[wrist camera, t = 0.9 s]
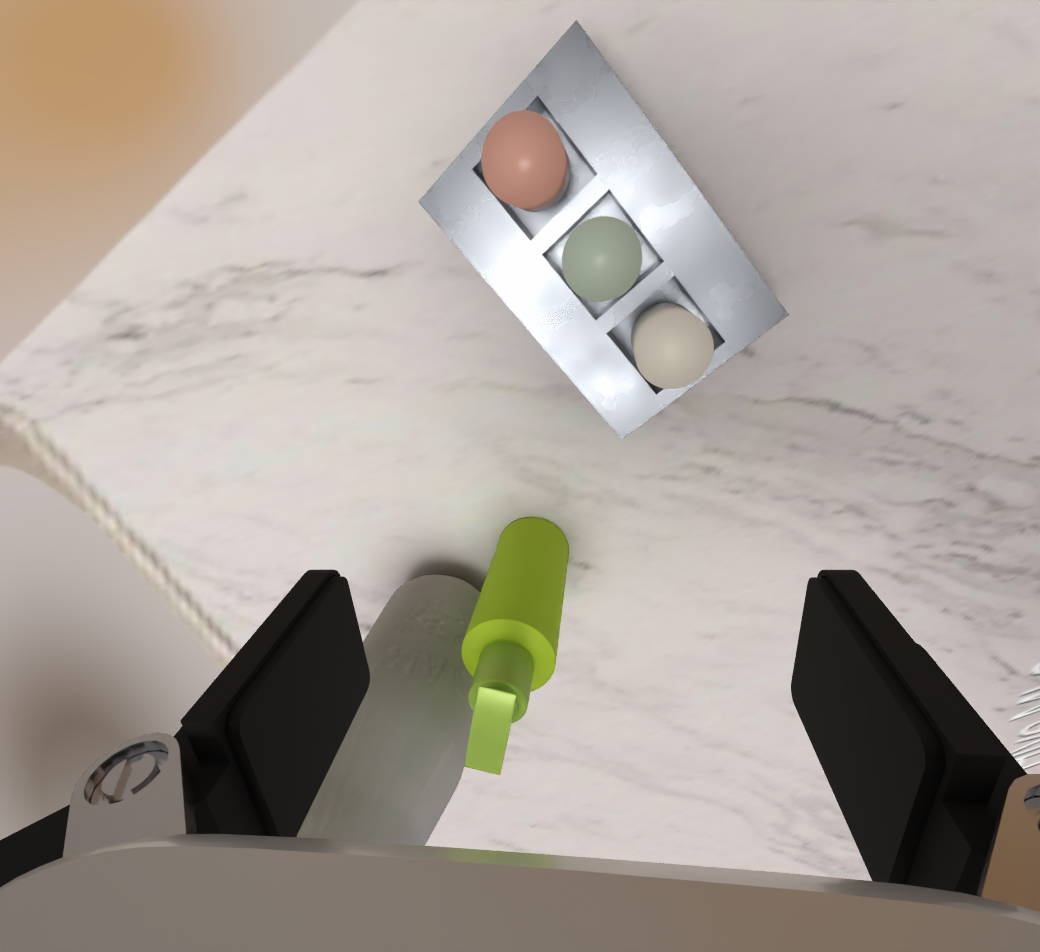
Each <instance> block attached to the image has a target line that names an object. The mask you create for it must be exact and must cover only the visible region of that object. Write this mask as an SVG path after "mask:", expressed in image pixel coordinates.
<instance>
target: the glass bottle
mask: <svg viewBox="0 0 1040 952" xmlns="http://www.w3.org/2000/svg"><path fill="white" fill-rule="evenodd" d="M479 596H480V592H479V591H478V590H477V589H476V588H474V587H473V586H472V585H470V584H469V583H467V582H465V581H463V580H461V579H459V578H456V577H452V576H446V575H424V576H420V577H416V578H414V579H411V580H409V581H408V582H406V583H405V584H403V585H402V586H401V587H400V588H399V589H398V590H397V591H396V592H395V593H394V594H393V596H392V597H391V599H390V600H389V602H388V603H387V604H386V606H385V608H384V609H383V611H382V613H381V614H380V616H379V617H378V619H377V620H376V622H375V624H374V625H373V627H372V629H371V630H370V632H369V634H368V635H367V636H366V638H365V640H364V641H363V646H364V650H365V654H366V658H367V662H368V666H369V670H370V684H369V688H368V690H367V693H366V695H365V697H364V699H363V701H362V703H361V705H360V707H359V709H358V711H357V713H356V715H355V717H354V719H353V721H352V723H351V725H350V728H349V730H348V732H347V734H346V736H345V738H344V740H343V742H342V744H341V746H340V748H339V750H338V752H337V754H336V756H335V758H334V760H333V762H332V764H331V767H330V769H329V771H328V773H327V775H326V777H325V779H324V781H323V783H322V785H321V787H320V789H319V791H318V793H317V795H316V797H315V799H314V801H313V803H312V806H311V808H310V810H309V812H308V814H307V816H306V818H305V820H304V822H303V824H302V826H301V828H300V830H299V832H298V834H297V836H296V837H297V838H314V839H329V840H344V841H359V842H374V843H389V844H404V845H419V846H425V844H426V842H427V841H428V839H429V837H430V835H431V833H432V831H433V830H434V828H435V826H436V824H437V822H438V821H439V819H440V817H441V815H442V813H443V811H444V810H445V808H446V806H447V804H448V802H449V801H450V799H451V797H452V795H453V793H454V791H455V789H456V787H457V785H458V783H459V780H460V778H461V775H462V772H463V768H464V766H465V759H466V753H467V747H468V740H469V734H470V728H471V723H472V717H473V712H474V711H473V710H472V708H471V707H470V704H469V700H468V695H469V690H470V687H471V683H472V680H473V676H472V675H471V674H470V673H469V671H468V670H467V668H466V667H465V665H464V662H463V659H462V644H463V640H464V638H465V635H466V632H467V629H468V626H469V624H470V621H471V618H472V615H473V612H474V610H475V607H476V604H477V601H478V598H479Z"/></svg>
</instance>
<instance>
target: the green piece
mask: <svg viewBox="0 0 1040 952" xmlns="http://www.w3.org/2000/svg"><path fill="white" fill-rule="evenodd" d="M641 265H642V248H641V244H640V241H639V239H638V237H637V235H636V233H635V232H634V230H633V229H632V228H631V227H630V226H629V225H628V224H627V223H625V222H624V221H622V220H620V219H618V218H614V217H610V216H599V217H594V218H591V219H589V220H586V221H585V222H583V223H581V224H580V225H579V226H578V227H576V228H575V230H574V231H573V232H572V233H571V234H570V236H569V237H568V239H567V241H566V243H565V246H564V249H563V254H562V269H563V273H564V276H565V279H566V281H567V283H568V285H569V286H570V287H571V289H572V290H573V291H574V292H575V293H576V294H578V295H579V296H581V297H582V298H584V299H587V300H590V301H595V302H605V301H610V300H613V299H616V298H618V297H620V296H621V295H623V294H624V293H625V292H627V291H628V290H629V289H630V288H631V286H632V285H633V284H634V282H635V281H636V279H637V277H638V275H639V273H640V269H641Z"/></svg>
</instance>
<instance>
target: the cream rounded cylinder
mask: <svg viewBox="0 0 1040 952" xmlns="http://www.w3.org/2000/svg"><path fill="white" fill-rule="evenodd" d="M631 344H632V348H633V352H634V356H635V360H636V364H637V367H638V369H639V371H640V373H641V374H642V376H643V377H644V378H645V379H646V380H647V381H649V382H650V383H651V384H653V385H655V386H657V387H660V388H665V389H678V388H682V387H685V386H688V385H690V384H692V383H694V382H695V381H697V380H698V379H699V378H700V377H701V376H702V375H703V374H704V373H705V372H706V370H707V369H708V367H709V365H710V363H711V361H712V357H713V352H714V343H713V338H712V334H711V332H710V330H709V329H708V327H707V326H706V325H705V323H704V322H703V321H701V320H700V319H699V318H698V317H697V316H695V315H694V314H693V313H692V312H690V311H689V310H688V309H687V308H685V307H684V306H682V305H679V304H676V303H671V302H664V303H659V304H655V305H653V306H651V307H649V308H648V309H646V310H645V311H644V312H643V313H642V314H641V315H640V316H639V317H638V318H637V320H636V322H635V324H634V326H633V329H632V333H631Z"/></svg>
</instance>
